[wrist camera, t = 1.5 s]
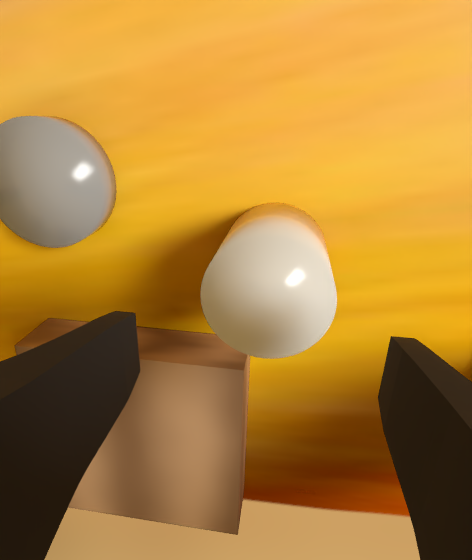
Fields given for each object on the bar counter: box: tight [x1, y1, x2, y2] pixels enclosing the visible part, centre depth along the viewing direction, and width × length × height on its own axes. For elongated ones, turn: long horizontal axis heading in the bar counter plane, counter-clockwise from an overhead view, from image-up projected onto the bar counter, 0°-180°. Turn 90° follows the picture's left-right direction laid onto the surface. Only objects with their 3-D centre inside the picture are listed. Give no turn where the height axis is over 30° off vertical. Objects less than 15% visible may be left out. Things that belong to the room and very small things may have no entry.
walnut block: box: [15, 318, 250, 535], centre depth 23 cm, size 12×12×3 cm
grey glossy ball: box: [0, 116, 116, 248], centre depth 19 cm, size 6×6×2 cm
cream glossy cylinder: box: [200, 203, 337, 358], centre depth 17 cm, size 5×5×6 cm
